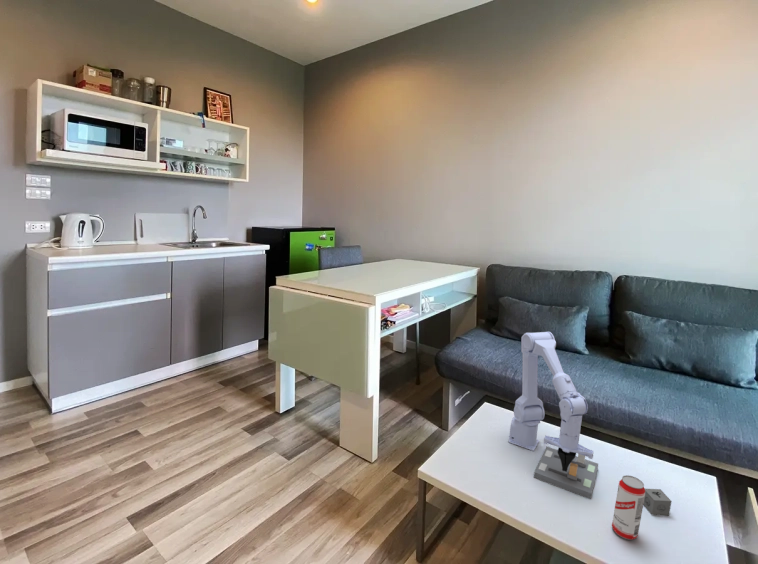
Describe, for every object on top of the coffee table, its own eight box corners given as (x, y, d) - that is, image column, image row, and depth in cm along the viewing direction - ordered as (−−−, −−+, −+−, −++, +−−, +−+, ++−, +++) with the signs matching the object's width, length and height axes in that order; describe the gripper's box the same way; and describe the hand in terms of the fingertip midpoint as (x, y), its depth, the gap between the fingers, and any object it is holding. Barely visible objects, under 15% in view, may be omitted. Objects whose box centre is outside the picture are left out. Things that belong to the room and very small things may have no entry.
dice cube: (657, 503, 124) (660, 489, 123) (668, 516, 119) (671, 501, 118) (641, 502, 124) (643, 488, 123) (651, 515, 119) (654, 500, 119)
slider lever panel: (533, 477, 134) (534, 471, 134) (545, 451, 149) (546, 445, 149) (590, 499, 125) (591, 493, 125) (597, 468, 140) (598, 463, 139)
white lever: (575, 464, 138) (577, 452, 137) (576, 461, 140) (578, 449, 139) (584, 467, 137) (586, 455, 136) (585, 464, 139) (587, 452, 138)
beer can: (628, 545, 108) (637, 492, 105) (606, 528, 114) (614, 477, 111) (642, 536, 111) (651, 485, 108) (620, 520, 117) (628, 471, 114)
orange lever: (567, 477, 132) (568, 465, 131) (568, 473, 133) (569, 461, 133) (576, 480, 130) (578, 468, 129) (577, 477, 132) (579, 464, 131)
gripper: (543, 429, 131) (538, 467, 133) (593, 445, 123) (587, 485, 125) (548, 420, 137) (543, 456, 139) (596, 435, 129) (590, 473, 131)
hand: (564, 469), depth 133 cm, fingers closed
